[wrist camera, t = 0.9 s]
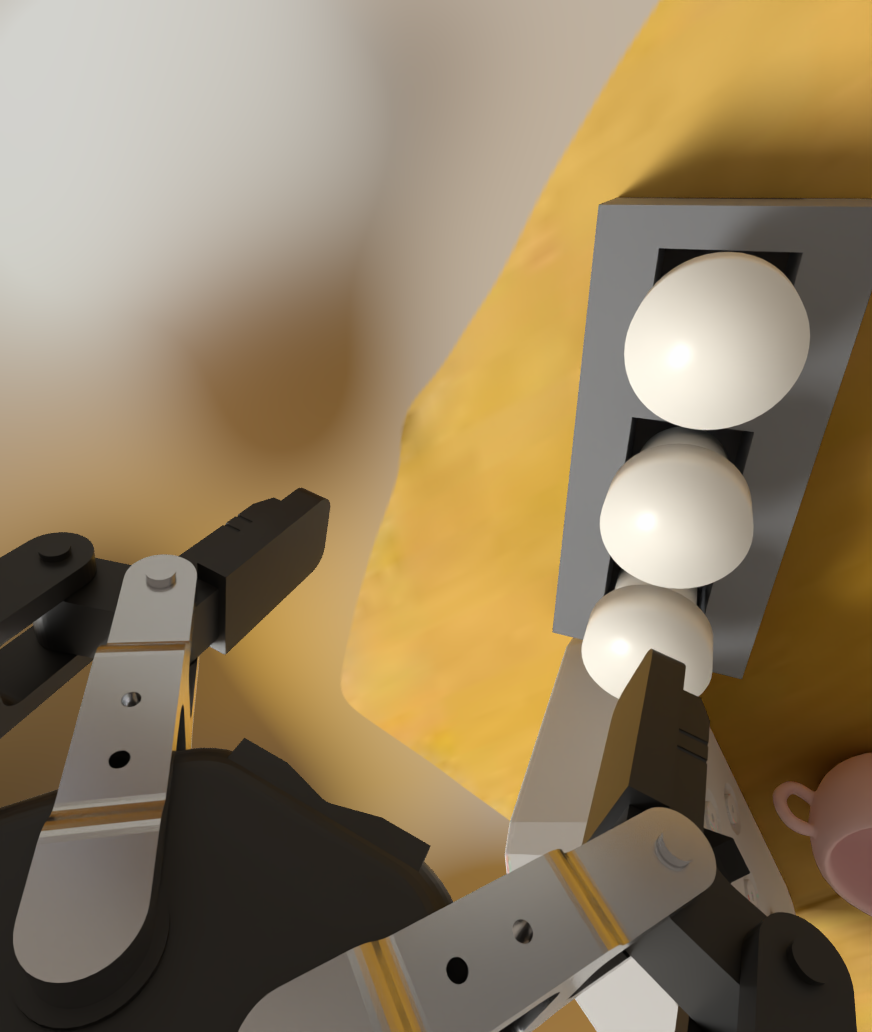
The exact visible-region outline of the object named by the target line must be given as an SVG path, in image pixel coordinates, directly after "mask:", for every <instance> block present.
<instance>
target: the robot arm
mask: <svg viewBox="0 0 872 1032" xmlns="http://www.w3.org/2000/svg"><path fill="white" fill-rule="evenodd" d="M329 511H330V502H329V500H328V499H326V498H323V497H321V496H319V495H317V494H315V493H312V492H310V491H308V490H306V489H304V488H298V489H297V490H295V491H294V492H292V493H291V494H290V495H288V496H287V497H285V498H284V499H283V500H282V501H280V500H278V499H276V498H271V499H268V500H264V501H261V502H258V503H255V504H252V505H251V506H250V507H248V508H247V509H245V510H244V511H243V512H241V513H240V514H238V517H234V518H233V519H231V520H230V521H228V522H227V523H226V525H225V526H221V527H220V528H218V529H217V530H215V531H214V532H213V533H211V534H210V535H208V536H207V537H206V538H204V539H203V540H201V541H200V542H198V543H197V544H195V545H194V546H193V547H191V548H190V549H188V550H187V551H185V552H184V553H183V554H181V555H180V556H174V555H155V556H150V557H147V558H144V559H141V560H139V561H138V562H136V563H135V564H133V565H127V564H123V563H118V562H113V561H108V560H103V559H98V558H95V554H94V547H93V545H92V543H91V542H90V541H89V540H88V539H87V538H85V537H83V536H80V535H78V534H74V533H67V532H64V533H63V532H59V533H51V534H45V535H42V536H39V537H36V538H34V539H32V540H30V541H28V542H26V543H25V544H23V545H21V546H19V547H18V548H16V549H14V550H13V551H11V552H9V553H7V554H6V555H4V556H2V557H1V558H0V646H2V645H3V644H4V643H5V642H6V641H8V640H9V639H10V638H12V637H13V636H15V635H16V634H18V633H19V632H20V631H22V630H23V629H25V628H26V627H27V626H29V625H30V624H32V623H33V626H32V627H31V628H29V629H28V630H27V631H25V632H24V633H22V634H21V635H20V636H18V637H17V638H15V639H14V640H13V641H11V642H10V643H8V644H7V645H6V646H4V647H3V648H2V649H0V738H1V737H3V736H4V735H5V734H6V733H7V732H9V731H10V730H11V729H12V728H13V727H14V726H16V725H17V724H18V723H19V722H20V721H22V720H23V719H24V718H25V717H26V716H27V715H29V714H30V713H31V712H32V711H33V710H35V709H36V708H37V707H38V706H39V705H40V704H42V703H43V702H44V701H45V700H46V699H47V698H49V697H50V696H51V695H52V694H53V693H55V692H56V691H57V690H58V689H59V688H61V687H62V686H63V685H64V684H65V683H66V682H67V681H69V680H70V679H71V678H72V677H73V676H75V675H76V674H77V673H78V672H79V671H81V670H82V669H83V668H84V667H85V666H86V665H88V664H89V663H90V662H91V661H92V660H93V663H92V667H91V671H90V674H89V678H88V682H87V685H86V689H85V693H84V697H83V701H82V704H81V708H80V711H79V715H78V719H77V723H76V726H75V730H74V734H73V737H72V741H71V745H70V748H69V752H68V756H67V760H66V763H65V767H64V771H63V775H62V778H61V782H60V786H59V789H58V790H55V791H52V792H48V793H45V794H42V795H39V796H36V797H33V798H29V799H27V800H23V801H20V802H17V803H14V804H11V805H8V806H5V807H2V808H0V1032H532V1031H533V1030H534V1029H536V1028H537V1027H538V1026H539V1025H541V1024H542V1023H543V1022H544V1021H546V1020H547V1019H548V1018H549V1017H550V1016H552V1015H553V1014H554V1013H555V1012H557V1011H558V1010H559V1009H561V1008H562V1007H563V1006H565V1005H566V1004H567V1003H569V1002H570V1001H572V1000H573V999H574V998H576V997H577V996H579V995H580V994H582V993H583V992H584V991H586V990H587V989H589V988H590V987H591V986H593V985H594V984H596V983H597V982H599V981H600V980H601V979H603V978H604V977H606V976H607V975H608V974H610V973H611V972H613V971H614V970H616V969H617V968H618V967H620V966H621V965H623V964H624V963H625V962H627V961H628V960H630V959H631V958H633V959H634V960H635V961H636V962H637V963H638V964H639V965H640V966H641V967H642V968H643V969H644V970H645V971H646V972H647V973H648V974H649V975H650V976H651V977H652V978H653V979H654V980H655V981H656V982H657V983H658V985H659V986H660V987H661V988H662V989H663V990H664V991H665V992H666V993H667V994H668V995H669V996H670V997H671V998H672V999H673V1000H674V1001H675V1002H676V1003H677V1004H678V1011H677V1019H676V1026H675V1032H857V1026H856V1013H855V1000H854V990H853V984H852V981H851V977H850V974H849V972H848V969H847V967H846V965H845V963H844V961H843V959H842V958H841V956H840V954H839V953H838V951H837V950H836V948H835V947H834V946H833V945H832V943H831V942H830V941H829V940H828V939H827V938H826V937H825V936H824V934H823V933H822V932H821V931H819V930H818V929H817V928H816V927H815V926H813V925H812V924H811V923H809V922H808V921H806V920H805V919H803V918H801V917H799V916H796V915H793V914H791V913H785V912H776V913H773V914H770V915H769V916H766V915H765V914H764V913H763V912H762V911H761V910H759V909H758V908H757V907H756V906H755V905H754V904H753V903H751V902H750V901H749V900H748V899H747V898H746V897H745V896H743V895H742V894H741V893H740V892H739V891H738V890H737V889H736V888H735V887H734V886H732V885H731V884H730V883H729V882H728V880H727V879H726V878H725V877H724V876H723V875H722V873H721V872H720V871H719V869H718V868H717V866H716V860H715V856H714V852H713V850H712V848H711V845H710V843H709V842H708V840H707V838H706V837H705V835H704V814H705V797H706V780H707V764H706V762H707V760H708V746H707V745H708V743H709V729H710V720H709V717H708V715H707V712H706V710H705V707H704V704H703V702H702V699H701V698H700V697H698V696H696V695H694V694H691V693H689V692H687V691H685V690H683V689H684V680H685V671H686V665H685V664H684V663H682V662H680V661H678V660H676V659H673V658H671V657H669V656H667V655H665V654H663V653H660V652H658V651H656V650H654V649H650V650H649V651H648V652H647V653H646V655H645V656H644V658H643V660H642V661H641V663H640V665H639V666H638V668H637V669H636V671H635V673H634V674H633V676H632V677H631V679H630V681H629V682H628V684H627V686H626V687H625V689H624V690H623V692H622V694H621V696H620V698H619V700H618V702H617V704H616V707H615V710H614V712H613V715H612V719H611V723H610V727H609V731H608V736H607V740H606V744H605V748H604V753H603V757H602V761H601V765H600V770H599V774H598V778H597V782H596V787H595V791H594V795H593V799H592V804H591V808H590V812H589V816H588V820H587V825H586V829H585V833H584V837H583V842H582V845H581V846H579V847H577V848H576V849H574V850H572V851H570V852H567V853H564V852H563V850H562V849H556V850H553V851H550V852H548V853H546V854H544V855H542V856H540V857H538V858H536V859H534V860H532V861H531V862H529V863H527V864H525V865H523V866H521V867H519V868H517V869H515V870H514V871H512V872H510V873H508V874H506V875H504V876H502V877H500V878H498V879H497V880H495V881H493V882H491V883H489V884H487V885H485V886H483V887H482V888H480V889H478V890H476V891H474V892H472V893H470V894H468V895H466V896H465V897H463V898H461V899H459V900H457V901H455V902H453V901H452V899H451V896H450V895H449V893H448V891H447V890H446V888H445V887H444V885H443V883H442V882H441V880H440V879H439V878H438V876H437V875H436V874H435V873H434V871H433V870H432V869H431V868H430V867H429V866H428V865H427V864H426V863H425V862H424V860H425V858H426V855H427V853H428V851H429V848H430V845H428V844H426V843H425V842H423V841H421V840H419V839H418V838H416V837H414V836H413V835H411V834H409V833H408V832H406V831H404V830H402V829H400V828H399V827H397V826H395V825H394V824H392V823H390V822H389V821H387V820H385V819H383V818H381V817H378V816H374V815H370V814H367V813H363V812H359V811H355V810H352V809H349V808H345V807H341V806H338V805H334V804H331V803H328V802H326V801H325V800H323V799H322V798H321V797H320V796H319V795H318V794H317V793H316V792H315V791H314V790H313V789H312V788H311V787H310V786H309V785H308V784H307V782H306V781H305V780H304V779H303V778H302V777H301V776H300V775H299V774H298V773H297V772H296V771H295V770H294V769H293V768H292V767H291V766H290V765H289V764H288V763H287V762H285V761H283V760H282V759H280V758H278V757H276V756H275V755H273V754H271V753H270V752H268V751H266V750H264V749H263V748H261V747H259V746H258V745H256V744H254V743H252V742H251V741H249V740H247V739H245V738H244V739H243V740H242V741H241V743H240V744H239V745H238V746H237V747H236V748H235V750H234V751H230V750H225V749H217V748H196V749H192V748H191V747H192V727H193V718H194V707H195V697H196V687H197V678H198V667H199V655H200V654H201V653H202V652H203V651H204V650H206V649H207V648H208V647H209V646H210V647H212V648H214V649H215V650H217V651H219V652H221V653H223V654H227V653H228V652H229V651H230V650H231V649H232V648H233V647H234V646H235V645H236V644H237V643H238V642H239V641H240V640H241V639H242V638H243V637H244V636H246V635H247V634H248V633H249V632H250V631H251V630H252V629H253V628H254V627H255V626H256V625H257V624H258V623H259V622H260V621H261V620H262V619H263V618H264V617H265V616H266V615H268V614H269V613H270V612H271V611H272V610H273V609H274V608H275V607H276V606H277V605H278V604H279V603H280V602H281V601H282V600H283V599H284V598H285V597H286V596H287V595H288V594H290V593H291V592H292V591H293V590H294V589H295V588H296V587H297V586H298V585H299V584H300V583H301V582H302V581H303V580H304V579H305V578H306V577H307V576H308V575H309V574H310V573H312V572H313V570H314V569H315V568H316V567H317V565H318V563H319V562H320V560H321V558H322V555H323V552H324V548H325V541H326V534H327V526H328V519H329Z"/></svg>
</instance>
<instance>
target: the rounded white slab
mask: <svg viewBox="0 0 872 1032" xmlns="http://www.w3.org/2000/svg"><path fill="white" fill-rule="evenodd" d="M582 643H583V640H582V639H578V638H573V639H572V640H571V642H570V643H569V644H568V646H567V647H566V650H565V653H564V656H563V659H562V662H561V665H560V669H559V672H558V675H557V678H556V681H555V684H554V687H553V690H552V693H551V696H550V700H549V703H548V706H547V709H546V712H545V715H544V718H543V721H542V724H541V727H540V730H539V734H538V737H537V740H536V743H535V746H534V749H533V752H532V755H531V758H530V761H529V765H528V768H527V771H526V774H525V777H524V780H523V783H522V786H521V789H520V792H519V795H518V799H517V802H516V805H515V808H514V811H513V814H512V817H511V820H510V824H509V830H508V837H507V843H506V849H505V861H506V872H507V874H508V873H510V872H512V871H514V870H515V869H517V868H519V867H521V866H523V865H525V864H527V863H529V862H531V861H532V860H534V859H536V858H538V857H540V856H542V855H544V854H546V853H548V852H550V851H553V850H556V849H562V850H563V852H564V853H567V852H570V851H572V850H574V849H576V848H577V847H579V846H581V845H582V842H583V837H584V833H585V829H586V825H587V820H588V816H589V812H590V808H591V804H592V799H593V795H594V791H595V787H596V782H597V778H598V774H599V770H600V765H601V761H602V757H603V753H604V748H605V744H606V740H607V736H608V731H609V727H610V723H611V719H612V715H613V712H614V710H615V707H616V704H617V702H618V700H619V699H618V698H616V697H614V696H612V695H611V694H609V693H608V692H606V691H605V690H604V689H603V688H601V687H600V686H599V685H598V684H597V683H596V682H595V681H594V680H593V679H592V677H591V676H590V675H589V673H588V671H587V670H586V667H585V665H584V662H583V659H582V652H581V651H582ZM707 746H708V760H707V762H706V764H707V780H706V797H705V814H704V835H705V837H706V838H707V840H708V842H709V843H710V845H711V848H712V850H713V852H714V856H715V860H716V866H717V868H718V869H719V871H720V872H721V873H722V875H723V876H724V877H725V878H726V879H727V880H728V882H729V883H730V884H731V885H732V886H734V887H735V888H736V889H737V890H738V891H739V892H740V893H741V894H742V895H743V896H745V897H746V898H747V899H748V900H749V901H750V902H751V903H753V904H754V905H755V906H756V907H757V908H758V909H759V910H761V911H762V912H763V913H764V914H765V915H766V916H769V915H770V914H773V913H776V912H785V913H791V914H793V915H796V914H795V910H794V906H793V903H792V900H791V897H790V895H789V892H788V889H787V887H786V884H785V882H784V880H783V878H782V876H781V874H780V872H779V870H778V868H777V866H776V864H775V861H774V859H773V857H772V855H771V853H770V851H769V849H768V847H767V845H766V843H765V841H764V839H763V836H762V834H761V832H760V830H759V828H758V826H757V824H756V822H755V820H754V818H753V816H752V814H751V811H750V809H749V807H748V805H747V803H746V801H745V799H744V797H743V795H742V793H741V791H740V789H739V786H738V784H737V782H736V780H735V778H734V776H733V774H732V772H731V770H730V768H729V766H728V764H727V761H726V759H725V757H724V755H723V753H722V751H721V749H720V747H719V745H718V743H717V741H716V739H715V736H714V734H713V732H712V730H711V728H710V729H709V743H708V745H707ZM575 999H576V1001H577V1002H578V1004H579V1005H580V1007H581V1008H582V1010H583V1011H584V1013H585V1014H586V1016H587V1017H588V1019H589V1020H590V1022H591V1023H592V1025H593V1026H594V1028H595V1029H596V1031H597V1032H675V1026H676V1019H677V1011H678V1004H677V1003H676V1002H675V1001H674V1000H673V999H672V998H671V997H670V996H669V995H668V994H667V993H666V992H665V991H664V990H663V989H662V988H661V987H660V986H659V985H658V983H657V982H656V981H655V980H654V979H653V978H652V977H651V976H650V975H649V974H648V973H647V972H646V971H645V970H644V969H643V968H642V967H641V966H640V965H639V964H638V963H637V962H636V961H635V960H634V959H633V958H631V959H630V960H628V961H627V962H625V963H624V964H623V965H621V966H620V967H618V968H617V969H616V970H614V971H613V972H611V973H610V974H608V975H607V976H606V977H604V978H603V979H601V980H600V981H599V982H597V983H596V984H594V985H593V986H591V987H590V988H589V989H587V990H586V991H584V992H583V993H582V994H580V995H579V996H577V997H576V998H575Z"/></svg>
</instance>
